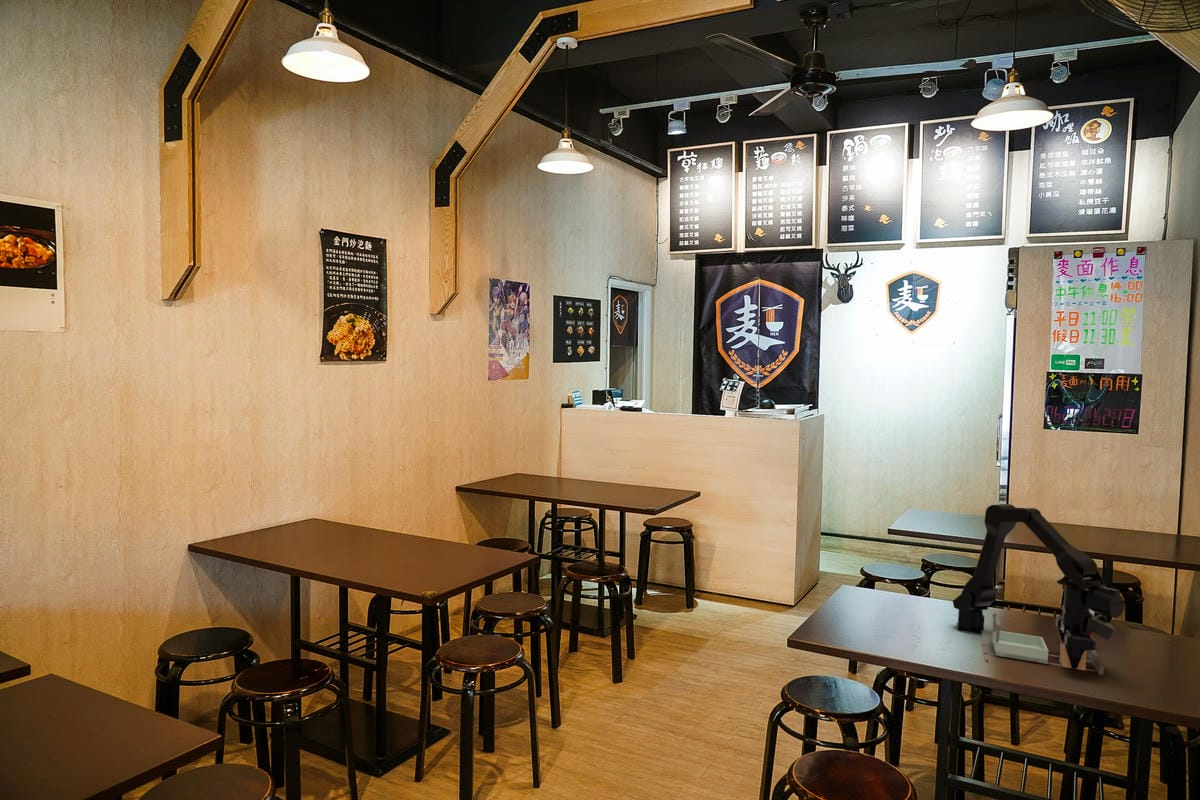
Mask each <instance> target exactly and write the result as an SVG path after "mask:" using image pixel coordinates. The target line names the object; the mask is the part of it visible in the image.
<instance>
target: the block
mask: <svg viewBox="0 0 1200 800" xmlns="http://www.w3.org/2000/svg"><path fill="white" fill-rule="evenodd" d="M1059 645H1060V647H1059V656H1060V657H1059V663H1060V665H1062V666H1061V667H1062V668H1067V669H1072V670H1073V669H1074V668H1072V667H1071V664H1070V661H1069V658H1068V654H1067V651H1066V648H1065V645H1064V644H1063V643H1061V642H1060V644H1059ZM1086 660H1087V650H1086V651H1084V653H1083V655H1082V657H1081V660H1080V662H1079V665H1078V667H1077V669H1076V670H1079V671H1081V670H1082V671H1087V670H1086V669H1087V668H1086V667H1087V666H1086V665H1087V664H1086V663H1087V662H1086ZM1074 670H1075V669H1074Z"/></svg>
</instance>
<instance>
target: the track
mask: <svg viewBox="0 0 1200 800" xmlns="http://www.w3.org/2000/svg"><path fill="white" fill-rule="evenodd" d="M980 643H981V647H982V652H983V657H984V661H985V663H986V662H987V663H988V664H989V662H990V661H989V659H988V655H993V656H996V655H995V653H993V652H992V653H991V652H988V651H987V649H986V646H988V647H993V644H986V643H985V641H984V639H981V640H980ZM1050 656H1051V657H1054V658H1055V657H1056V658H1060V655H1056V654H1055V655H1054V654H1049V653H1048V657H1050ZM1088 658H1089V659H1088V660H1087V659H1086V663H1087V662H1088V663H1091V664H1092V666H1093V668H1094V669H1091V668H1086V670H1085V671H1091V672H1096V673H1097V675H1098V676H1104V672H1105V671H1104V670H1105V669H1104V668H1105V664H1104V662H1103V661H1102V659H1101V658H1100V656H1099V654H1098V653H1097V651H1096V649H1095V650H1089V656H1088ZM1048 664H1049V665H1054V666H1060V667H1063V666H1062V665H1061V663H1060V664H1059V663H1054V662H1047V665H1048Z"/></svg>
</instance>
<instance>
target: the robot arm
mask: <svg viewBox="0 0 1200 800" xmlns="http://www.w3.org/2000/svg"><path fill="white" fill-rule="evenodd" d="M1017 523H1023V524H1024V525H1025V526H1026V527H1027V528H1028V529H1029V530H1030V531H1031V533H1033V535H1035V536H1036V537H1037V539H1038V540H1039V541H1040V542H1041V543H1042V544H1043V545H1044V546H1045V547H1046V548H1047V550H1048V551H1049V552H1050V553H1052V555H1053V557H1054V558H1055V561H1056V565H1057V566H1058V568H1059V570H1060V571H1061V573H1062V574H1063V575H1064V576H1063V577H1062V578H1060V579H1058V580H1056V583H1057V584H1058V585H1062V586H1065V587H1064V595H1063V597H1064V599H1063V604H1061V609H1062V610H1063V616H1062V614H1059V615H1058V616H1056V617H1055V624H1054V625H1055V626H1056V628H1058V629H1057V633H1058V636H1059V639H1061V641H1062V643H1063V644H1064V645H1065V648H1066V651H1067V654H1068V658H1069V661H1070V664H1071V667H1072V668H1071V669H1073V668H1074V670H1078V669H1077V667H1078V665H1079V662H1080V660H1081V657H1082V655H1083V653H1084V651H1086V652H1087V651H1090V650H1095V651H1096V647H1097V646H1096V644H1097V642H1096V641H1095V639H1094V637H1093V638H1092V637H1091V636H1090V635H1089V634H1092V632H1093V634H1095V635H1098V636H1100V637H1103V639H1105V640H1107V641H1111V639H1112V637H1113V635H1114V633H1115V632H1116V628H1115V627H1114V626H1113V625H1112V624H1111V623H1110V622H1108V620H1107V617H1106V616H1108V617H1111V618H1115V619H1117V618H1120V617H1121V615H1122V614H1123V613H1124V611H1125V607H1126V603H1125V601H1124V598H1123V596H1122V595H1121V590H1119V589H1116V588H1111V587H1107V584H1106V582H1105V580H1104V578H1103V577H1102V575H1101V574H1100V571H1099V570H1098V564H1097V563H1096V561H1095V560H1094V559H1093V558H1092V557H1090V556H1089V555H1087V554H1086V553H1085V552H1084V551H1082V550H1081V549H1078V548H1076V547H1074V546H1072V545H1071V544H1070V543H1069V542H1068V541H1067V540H1066V539H1065V538H1064V537H1063V535H1061V533H1059V532H1058V531H1057V529H1055V527H1054V525H1051V523H1050V522H1049V521H1048V520H1047V519H1046V518H1045V517H1044V516H1043V514H1042V513H1041V511H1040V510H1039V509H1037V508H1035V507H1016V506H1014V505H1013V504H1011V503H1004V504H1001V503H1000V504H991V505H989V506H987V508H986V510H985V513H984V526H985V529H986V533H985V537H984V540H983V544H982V546H981V550H980V554H979V556H978V560H977V564H976V567H975V571H974V573H973V576H972V577H971V578H969V579H968V581H966V583H965V585H964V587H963V589H962V591H961V594H960V595H958V596H957V597H955V599H953V600H952V604H953V608H954V609H957V610H958V614H957V623H956V628H957V631H960V632H966V633H971V634H979V635H983V632H982V631H984V630H985V629H984V628H985V615H984V613H983V611H987V610H988V609H989V607H990V605H992V604H993V602H996V596H997V594H998V591H999V589H998V588H997V587H995V586H994V583H993V580H994V579H993V578H994V575H995V572H996V569H997V566H998V563H999V560H1000V557H1001V553H1002V549H1003V545H1004V543H1005V539H1006V537H1007V536H1008V535H1009V534H1010V532H1012V530H1013V529H1015V526H1016V524H1017ZM1090 610H1092V611H1094V613H1098V614H1097V615H1094V616H1092V614H1091V613H1090ZM1060 627H1061V628H1060ZM1084 633H1087V634H1084Z"/></svg>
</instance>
